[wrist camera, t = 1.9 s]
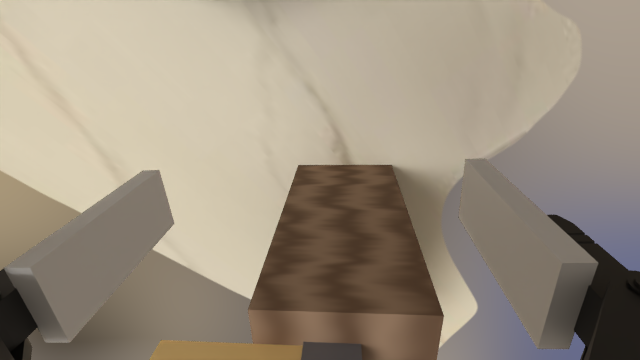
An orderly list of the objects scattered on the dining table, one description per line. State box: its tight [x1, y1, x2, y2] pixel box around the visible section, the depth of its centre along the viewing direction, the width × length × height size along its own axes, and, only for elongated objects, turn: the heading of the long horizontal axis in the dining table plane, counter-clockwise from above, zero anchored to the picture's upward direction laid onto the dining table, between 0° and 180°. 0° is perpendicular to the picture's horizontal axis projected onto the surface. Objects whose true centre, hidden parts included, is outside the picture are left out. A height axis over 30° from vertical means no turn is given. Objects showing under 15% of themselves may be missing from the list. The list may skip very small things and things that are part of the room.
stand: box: [248, 165, 444, 360], centre depth 47 cm, size 16×24×33 cm, turn 2°
